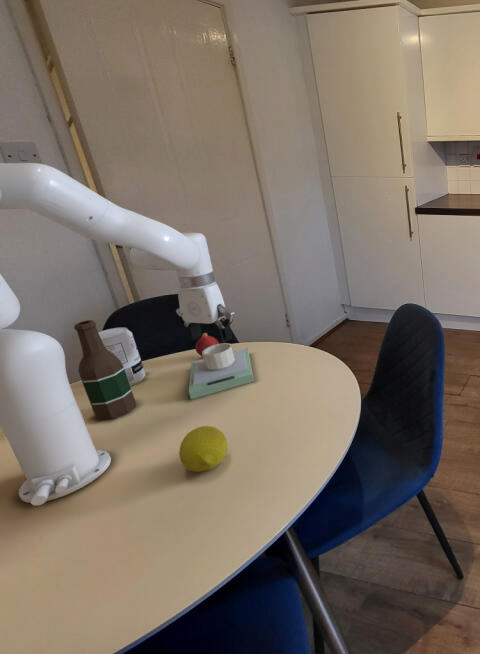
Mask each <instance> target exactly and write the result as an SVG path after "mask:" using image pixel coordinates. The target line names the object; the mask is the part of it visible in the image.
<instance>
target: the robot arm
mask: <svg viewBox="0 0 480 654" xmlns="http://www.w3.org/2000/svg"><path fill="white" fill-rule="evenodd" d="M2 210H3V211H4V210H28V211H31V212H34V213H36V214H38V215H40V216H42V217H44V218H45V219H48V220H50V221H52V222H54V223H56V224H58V225H60V226H62V227H64V228H66V229H68V230H70V231H72V232H74V233H76V234H78V235H80V236H82V237H84V238H86V239H89V240H91V241H95V242H100V243H103V244H109V245H113V246H121V247H126V248H130V249H129V259H130V261H131V262H132V264H133V265H134V266H136V267H138V268H140V269H143V270H149V271H176V274H177V275H176V276H177V279H178V283H179V286H178V289H177V293H178V294H177V297H178V304H179V308H177V309H176V310H175V312H176V314H177V315H178V316H179V319H180V320H181V321H182V322H183V325H184V327H185V328H186V329H187V333H188V337H189V340H190V341H195V340H196V339H197V340H198V339H200V338H201V337H202V335H203V333H202V329H201V324H204V325H205V324H207V325H208V324H209V325H211V324H215V325H216V326H217V327H218V329H217V333H218V337H219V341H220V344H222V343H226V342H227V341H228V342H229V341H230V340H232V338H233V334H232V330H231V325H232V323H233V322H234V317H235V312H234V311H233V310H231V309H229V308H227V307H226V304H225V301H224V297H223V294H222V292H221V290H220V287H219V285H218V283H217V282H216V278H215V274H214V268H213V265H212V260H211V256H210V251H209V247H208V241H207V238H206V236H205V235H204V234H203V233H200V232H183V233H182V232H180V231H178V230H177V229H175V228H173V227H171V226H169V225H167V224H165V223H163V222H160V221H159V220H155V219H153V218H150V217H148V216H145V215H142V214H140V213H138V212H135V211H132V210H129V209H126V208H125V207H124V208H123V207H121V206H119V205H117V204H116V203H114V202H112V201H110V200H109V199H107V198H105V197H103V196H102V195H100V194H99V193H97V192H95V191H94V190H92V189H91V188H89V187H87V185H84V184H82V183H81V182H80V181H77V180H76V179H74V178H73V177H71V176H70V175H68V174H67V173H64V172H63V171H62V170H59V169H57V168H56V167H53V166H50V165H47V164H44V163H37V162H0V211H2ZM20 312H21V304H20V301H19V299H18V297H17V295H16V294H15V292H14V291H13V290H12V288H11V287H10V285H9V284H8V282H7V281H6V280H5V278H4V277H3V275H2V274H1V273H0V427H1V429H2V430H3V431H2V432H4V435H5V437H6V440H7V442H8V444H9V446H10V447H11V450H12V451H13V454H14V456H15V458H16V460H17V462H18V465H19V467H20V468H21V471H22V473H23V476H24V477H25V479H26V480H25V481H24V482H23V483H22V484H21V486H20V488H19V489H18V495H19V498H20V500H21V501H22V502H25V503H29V504H31V505H32V506H37V507H38V506H41V505H43V504H45V503H46V502H50V501H53V500H57V499H59V498H62V497H65V496H67V495H69V494H71V493H74V492H76V491H78V490H80V489H82V488H84V487H86V486H87V485H89V484H91V483H92V482H93V481H95V480H97V479H98V478H99V477H101V475H102V474H104V473H105V471H106V470H108V468H109V467H110V465H111V462H112V457H111V456H110V455H111V454H110V453H108V452H107V451H106V450H103V449H102V450H100V449H99V450H98V449H96V447H95V444H94V442H93V440H92V437H91V434H90V433H89V430H88V427H87V425H86V423H85V419H84V417H83V414H82V412H81V410H80V407H79V405H78V402H77V400H76V397H75V395H74V393H73V389H72V387H71V384H70V382H69V381H70V380H69V378H68V374H67V368H66V355H65V352H64V349H63V347H62V344H61V343H60V342H59V341H58V340H57V339H55V338H54V337H52V336H50V335H48V334H46V333H43V332H40V331H34V330H28V329H14V328H13V329H11V328H7V327H9V326H10V325H12V324H13V323H14V322H16V321H17V319H18V318H19V316H20V314H21V313H20ZM221 321H222V322H221Z"/></svg>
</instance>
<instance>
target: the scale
mask: <svg viewBox="0 0 480 654" xmlns="http://www.w3.org/2000/svg"><path fill="white" fill-rule="evenodd" d="M233 353H234V357H235V361H234V362H233V363H232V364H231V365H230V366H228V367H226V368H223V369H219V370H211V369H207V368H206V366H205V362H204V359H203V358H202V359H197V360H195V361H192V362H191V364H190V373H189V384H188V395H189V398H190V400H193V399H197V398H198V399H199V398H201V397H205V396H209V395H211V394H215V393H219V392H222V391H226V390H229V389H233V388H237V387H239V386H243V385H246V384H250V383H254V382H255V380H254V375H253V369H252V362H251V357H250V352H249V349H248V348H243V349H239V350H233Z"/></svg>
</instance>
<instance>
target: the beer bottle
mask: <svg viewBox="0 0 480 654" xmlns="http://www.w3.org/2000/svg"><path fill="white" fill-rule="evenodd" d="M97 325H98V324H97V323H96V322H95V321H94V320H93V319H92V320H91V319H89V320H84V321H79V322H77V323H75V324H74V325H73V329H74V331H76V332H77V336H78V339H79V343H80V347H81V350H82V357H81V360H80V362H79V363H78V369H77V370H78V374H79V378H80V380H81V384H82V386H83V388H84V391H85V393H86V397H87V398H88V401H89V404H90V406H91V409H92V411H93V413H94V415H95V417H96V418H97V420H98V421H109V420H114V419H117V418H120V417H122V416H125V415H127V414H128V413H130V412H131V411H132V410H133V409H134V408H135V407H136V406H137V402H136V399H135V396H134V393H133V390H132V386H130V384H129V381H128V378H127V376H126V373H125V370H124V367H123V365H122V363H121V361H120V360H119V359H118V358H117V357H116V356H115V355H114V354H113V353H112V352H110V351H108V350H107V349H106V348H105V346H104V344H103V342H102V340H101V338H100V335H99V331H98V329H97Z"/></svg>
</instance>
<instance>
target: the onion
mask: <svg viewBox="0 0 480 654" xmlns="http://www.w3.org/2000/svg"><path fill="white" fill-rule="evenodd" d="M217 344H220V343H219V341H218V339H217V338H215V337H214V336H211V335H208V333H207V332H204V333H202V336H201V337H199V338H198V339H197V340H196V343H195V347H194V349H195V352H196V353H197V354H198V355H199V356H201V357H203V355H202V351H203V350H204V349H206V348H208V347H210V346H213V345H217Z"/></svg>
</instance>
